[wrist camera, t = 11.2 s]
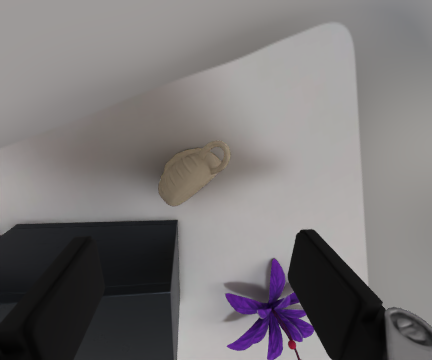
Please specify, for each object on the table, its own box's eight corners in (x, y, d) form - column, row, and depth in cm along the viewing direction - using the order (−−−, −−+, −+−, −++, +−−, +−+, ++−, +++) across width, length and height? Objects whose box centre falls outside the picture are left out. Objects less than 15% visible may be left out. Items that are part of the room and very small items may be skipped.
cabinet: (46, 309, 26) (-27, 417, 17) (16, 224, 22) (-104, 311, 13) (179, 299, 28) (175, 391, 19) (177, 219, 24) (170, 291, 15)
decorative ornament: (148, 176, 22) (136, 199, 17) (212, 125, 20) (219, 134, 15) (175, 203, 23) (171, 231, 18) (235, 156, 22) (249, 173, 17)
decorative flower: (218, 359, 29) (234, 427, 22) (225, 256, 27) (244, 294, 20) (305, 345, 32) (344, 400, 25) (316, 251, 30) (362, 282, 23)
